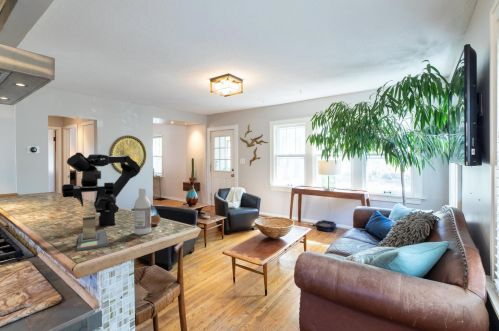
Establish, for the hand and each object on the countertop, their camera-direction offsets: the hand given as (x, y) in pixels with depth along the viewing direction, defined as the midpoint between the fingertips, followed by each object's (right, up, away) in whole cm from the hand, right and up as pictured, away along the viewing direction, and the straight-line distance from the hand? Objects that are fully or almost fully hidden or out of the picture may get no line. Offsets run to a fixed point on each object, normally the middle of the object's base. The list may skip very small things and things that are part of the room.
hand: (89, 205), depth 101 cm
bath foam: (+18, -14, +8) cm, 24 cm away
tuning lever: (+4, -12, -6) cm, 13 cm away
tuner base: (+4, -14, -3) cm, 14 cm away
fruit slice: (+18, -14, +20) cm, 30 cm away
